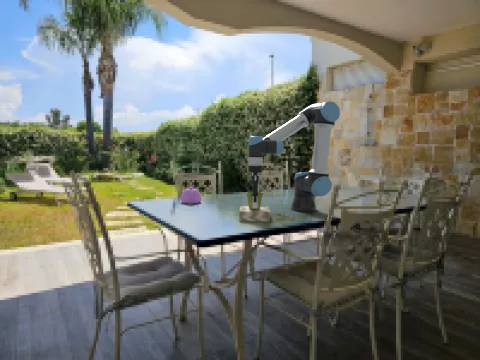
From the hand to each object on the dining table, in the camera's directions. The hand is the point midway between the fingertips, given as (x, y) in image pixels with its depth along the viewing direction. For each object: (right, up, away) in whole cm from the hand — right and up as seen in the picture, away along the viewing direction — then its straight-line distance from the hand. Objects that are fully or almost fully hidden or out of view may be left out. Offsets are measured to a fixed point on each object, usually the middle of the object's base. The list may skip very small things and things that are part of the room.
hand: (254, 206), depth 195 cm
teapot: (-41, -1, +50) cm, 65 cm away
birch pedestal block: (0, -6, +1) cm, 6 cm away
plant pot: (0, -1, 0) cm, 1 cm away
